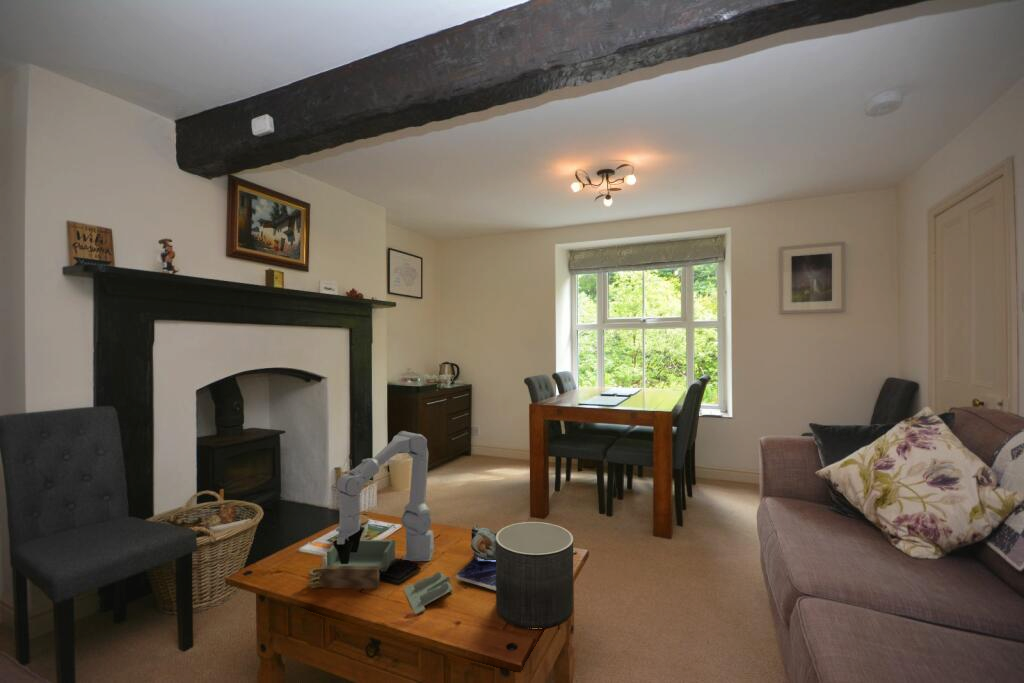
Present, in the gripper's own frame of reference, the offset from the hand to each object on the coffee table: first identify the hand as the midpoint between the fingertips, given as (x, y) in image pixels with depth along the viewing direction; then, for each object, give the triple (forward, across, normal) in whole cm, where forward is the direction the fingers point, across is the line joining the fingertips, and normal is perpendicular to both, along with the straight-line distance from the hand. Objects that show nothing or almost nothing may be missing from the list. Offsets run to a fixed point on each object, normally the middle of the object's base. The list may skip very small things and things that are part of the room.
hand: (349, 557), depth 144 cm
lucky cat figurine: (+9, -18, +43) cm, 47 cm away
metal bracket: (+10, +5, +26) cm, 28 cm away
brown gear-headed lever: (+9, 0, -2) cm, 9 cm away
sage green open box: (+9, -12, -1) cm, 15 cm away
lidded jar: (+9, -34, -11) cm, 36 cm away
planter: (+9, +10, +57) cm, 59 cm away
